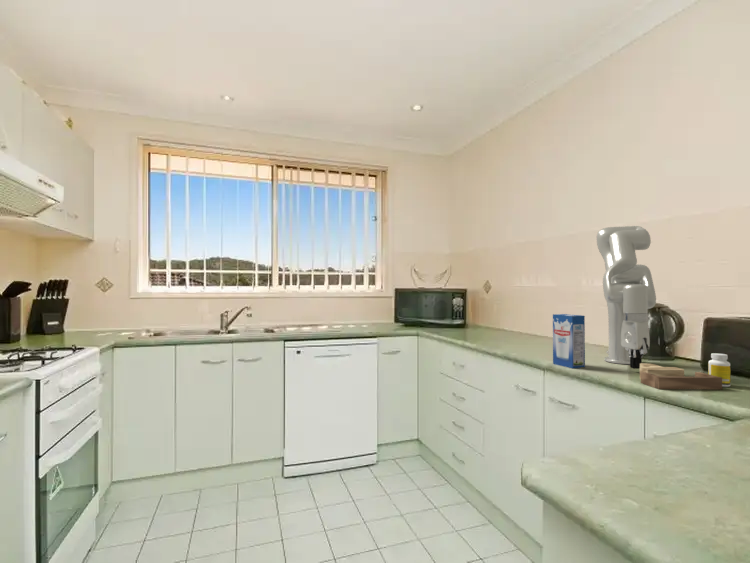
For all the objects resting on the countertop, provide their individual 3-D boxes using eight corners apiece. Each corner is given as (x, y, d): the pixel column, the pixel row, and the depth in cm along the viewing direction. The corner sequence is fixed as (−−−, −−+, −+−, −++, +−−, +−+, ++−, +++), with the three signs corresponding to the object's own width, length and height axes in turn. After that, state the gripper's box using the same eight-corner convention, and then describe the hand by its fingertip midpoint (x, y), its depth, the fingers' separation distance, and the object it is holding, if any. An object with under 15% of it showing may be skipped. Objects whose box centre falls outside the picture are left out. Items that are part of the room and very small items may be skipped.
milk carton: (585, 367, 156) (584, 315, 156) (572, 368, 153) (572, 315, 154) (564, 362, 165) (564, 314, 165) (552, 363, 163) (552, 314, 163)
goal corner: (640, 382, 130) (640, 371, 130) (700, 382, 130) (700, 372, 130) (658, 389, 122) (658, 377, 122) (722, 389, 122) (722, 377, 122)
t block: (628, 374, 142) (628, 363, 142) (662, 374, 142) (662, 363, 142) (647, 381, 132) (647, 369, 132) (684, 381, 132) (684, 369, 132)
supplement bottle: (735, 387, 124) (734, 355, 124) (714, 386, 125) (714, 355, 125) (723, 383, 129) (723, 353, 129) (704, 382, 130) (704, 352, 131)
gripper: (613, 316, 155) (613, 364, 155) (638, 319, 140) (638, 372, 140) (632, 316, 155) (633, 364, 155) (659, 319, 140) (660, 372, 140)
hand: (635, 368), depth 147 cm, fingers closed
